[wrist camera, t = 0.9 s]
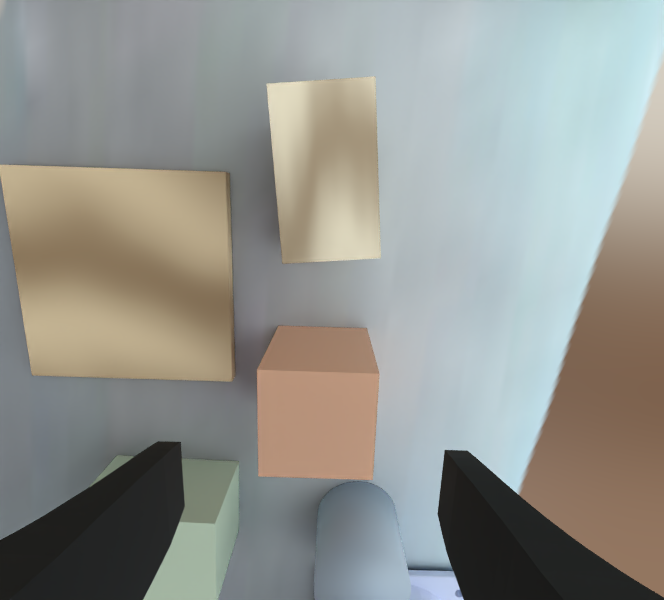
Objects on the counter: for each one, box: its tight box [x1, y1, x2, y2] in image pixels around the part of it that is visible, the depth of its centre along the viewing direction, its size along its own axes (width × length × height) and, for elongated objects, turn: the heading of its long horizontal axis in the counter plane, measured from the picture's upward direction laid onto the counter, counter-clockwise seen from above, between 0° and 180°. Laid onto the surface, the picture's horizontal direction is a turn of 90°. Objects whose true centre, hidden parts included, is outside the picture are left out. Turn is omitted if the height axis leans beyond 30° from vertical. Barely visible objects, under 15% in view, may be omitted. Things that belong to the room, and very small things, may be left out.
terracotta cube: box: [257, 326, 379, 480], centre depth 15 cm, size 4×4×5 cm
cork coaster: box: [0, 165, 235, 382], centre depth 17 cm, size 9×9×1 cm
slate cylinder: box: [314, 481, 411, 600], centre depth 18 cm, size 4×4×4 cm
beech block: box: [267, 77, 381, 264], centre depth 14 cm, size 5×5×3 cm
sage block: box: [90, 455, 239, 600], centre depth 18 cm, size 4×6×4 cm, turn 87°
